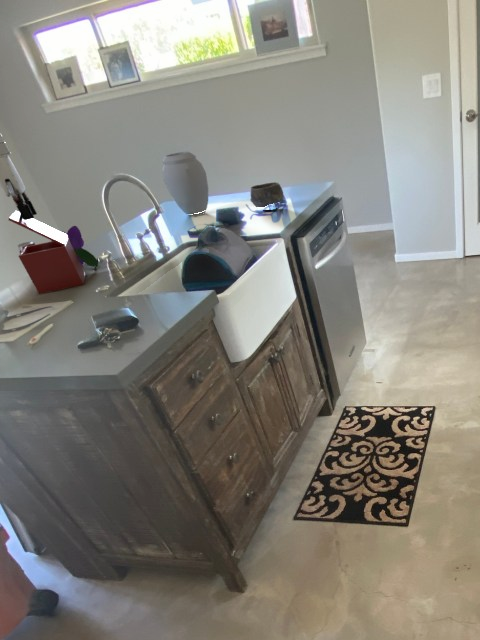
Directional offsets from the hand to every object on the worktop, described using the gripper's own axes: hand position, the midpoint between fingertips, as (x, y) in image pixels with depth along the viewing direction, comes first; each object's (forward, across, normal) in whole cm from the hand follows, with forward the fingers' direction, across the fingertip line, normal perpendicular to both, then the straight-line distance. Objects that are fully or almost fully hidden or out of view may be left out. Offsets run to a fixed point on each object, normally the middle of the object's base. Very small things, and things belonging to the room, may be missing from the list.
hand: (30, 216), depth 170 cm
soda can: (+21, -14, -9) cm, 27 cm away
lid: (+4, 0, +1) cm, 4 cm away
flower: (+22, -16, +6) cm, 28 cm away
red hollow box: (+21, 0, -1) cm, 21 cm away
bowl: (+24, -50, +85) cm, 102 cm away
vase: (+23, -76, +54) cm, 96 cm away
